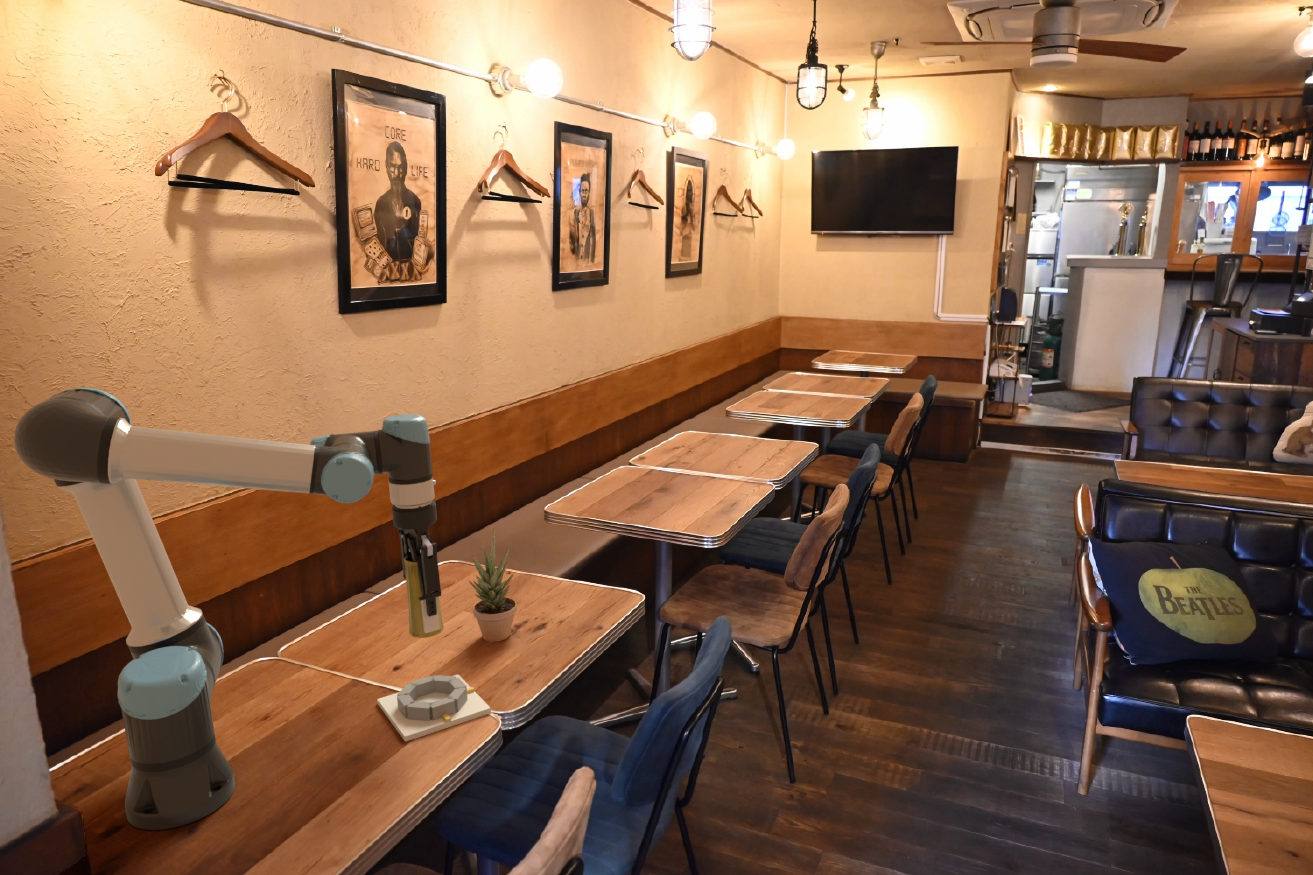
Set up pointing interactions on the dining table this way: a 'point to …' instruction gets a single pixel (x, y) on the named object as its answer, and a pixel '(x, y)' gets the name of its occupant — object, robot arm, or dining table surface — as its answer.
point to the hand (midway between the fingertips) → (425, 624)
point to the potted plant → (493, 599)
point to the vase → (417, 602)
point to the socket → (432, 705)
